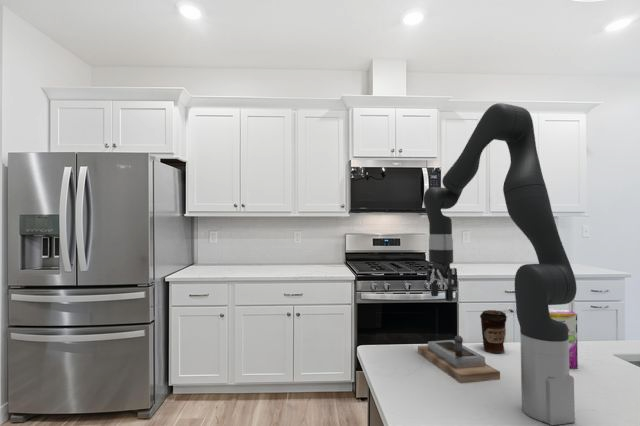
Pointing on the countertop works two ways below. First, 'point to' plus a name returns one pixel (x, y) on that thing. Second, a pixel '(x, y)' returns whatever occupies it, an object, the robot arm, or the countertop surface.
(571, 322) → the candy bar box
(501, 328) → the coffee cup
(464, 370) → the board
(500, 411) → the countertop surface
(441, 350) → the grey picture frame
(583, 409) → the countertop surface
